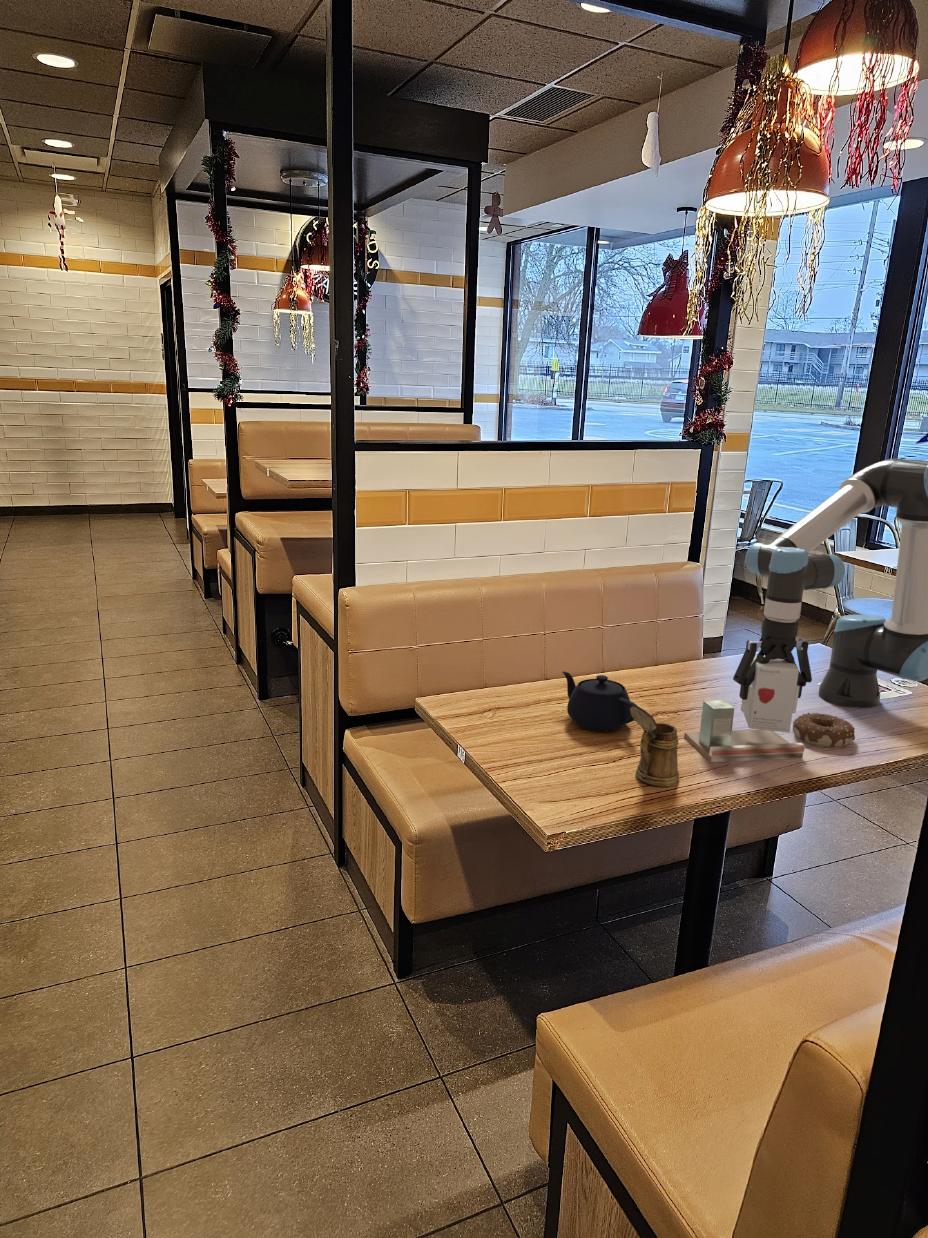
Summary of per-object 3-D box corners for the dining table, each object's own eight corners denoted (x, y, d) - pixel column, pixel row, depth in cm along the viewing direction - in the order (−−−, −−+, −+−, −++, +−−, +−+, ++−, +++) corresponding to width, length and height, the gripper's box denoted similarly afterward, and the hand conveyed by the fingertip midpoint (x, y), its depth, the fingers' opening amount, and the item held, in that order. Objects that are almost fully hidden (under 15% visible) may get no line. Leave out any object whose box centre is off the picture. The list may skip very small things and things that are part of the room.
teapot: (656, 732, 199) (661, 684, 196) (612, 747, 190) (616, 696, 186) (581, 701, 218) (585, 656, 215) (537, 713, 209) (540, 666, 205)
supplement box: (748, 729, 187) (756, 665, 183) (743, 715, 195) (751, 654, 191) (790, 733, 185) (799, 669, 181) (783, 719, 194) (792, 657, 190)
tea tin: (719, 740, 192) (723, 700, 189) (729, 750, 187) (734, 708, 184) (698, 741, 191) (703, 700, 188) (708, 751, 186) (713, 709, 183)
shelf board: (769, 733, 200) (771, 721, 199) (803, 758, 187) (805, 745, 186) (684, 737, 196) (685, 724, 195) (711, 763, 183) (713, 749, 182)
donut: (855, 755, 190) (859, 734, 188) (791, 745, 194) (794, 725, 193) (851, 733, 203) (854, 713, 201) (791, 724, 207) (793, 705, 206)
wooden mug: (611, 780, 173) (618, 699, 168) (654, 765, 181) (662, 686, 176) (645, 797, 166) (653, 712, 161) (687, 780, 174) (696, 699, 169)
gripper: (818, 613, 189) (805, 704, 195) (724, 614, 185) (713, 707, 191) (838, 621, 182) (823, 716, 188) (740, 623, 178) (728, 719, 184)
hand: (768, 711), depth 189 cm, fingers closed on supplement box, 11 cm apart
